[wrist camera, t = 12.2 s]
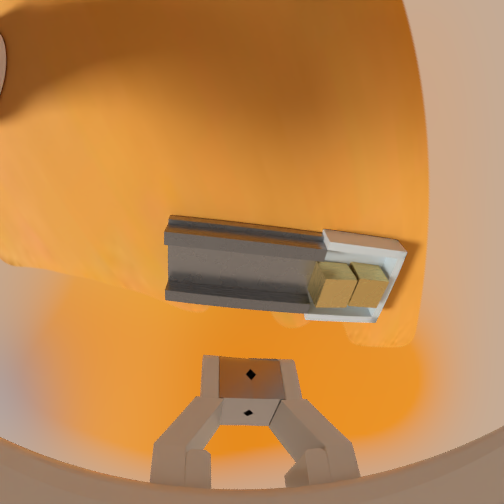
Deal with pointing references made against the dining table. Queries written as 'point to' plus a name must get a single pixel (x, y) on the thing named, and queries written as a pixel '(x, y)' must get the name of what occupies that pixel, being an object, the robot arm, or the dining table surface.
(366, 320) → the tray
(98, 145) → the dining table surface
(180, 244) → the slot bed
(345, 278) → the tan yellow cube
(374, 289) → the yellow cube
